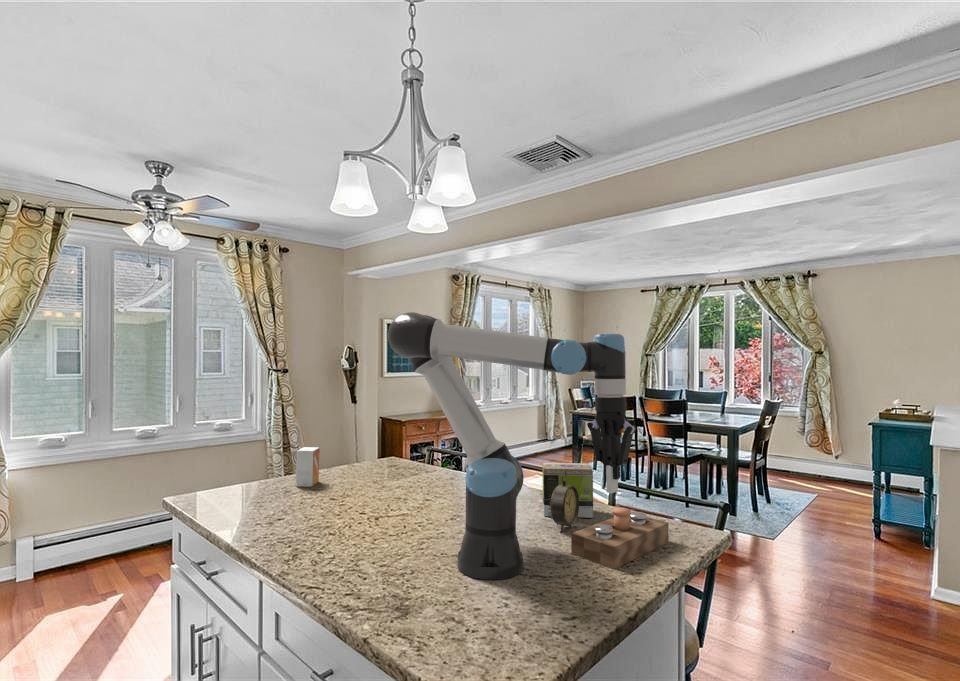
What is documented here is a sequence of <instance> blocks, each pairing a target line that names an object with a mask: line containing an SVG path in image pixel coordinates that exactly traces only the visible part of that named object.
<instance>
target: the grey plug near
mask: <svg viewBox="0 0 960 681" xmlns="http://www.w3.org/2000/svg"><path fill="white" fill-rule="evenodd" d="M595 532H596V537H599V538H603V539H606V540H608V539H610V538H612V533H613V528H612V527H610V526H607V525H597V526H595Z"/></svg>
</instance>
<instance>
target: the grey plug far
mask: <svg viewBox="0 0 960 681" xmlns="http://www.w3.org/2000/svg"><path fill="white" fill-rule="evenodd" d="M629 517H630V522H631V523H635V524H639V525H643V524H645V520H646V519H647V517H648V515H647V514H646V513H643V512H640V511H639V512H638V511H632V512H631V514H630V515H629Z"/></svg>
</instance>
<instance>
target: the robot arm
mask: <svg viewBox="0 0 960 681" xmlns="http://www.w3.org/2000/svg"><path fill="white" fill-rule="evenodd" d="M387 339H388V344H389V346H390V347H391V350H393V351H394V353H395V354H397V355H398V356H400V357H402V358H405V359H408V361H409V363H410V365H411V367H412V368H413V371H414V372H415V373H417V374H419V375H422V376H423V377H424V379H425V380H426V382H427V384H428V386H429V387H430V390H431V392H432V393H433V395H434V397H435V398H436V401H437V403H438V405H439V406H440V408H441V411H442V412H443V414H444V415H445V417H446V419H447V421H448V423H449V424H450V427H451V429H452V430H453V433H454V434H455V436H456V438H457V440H458V442H459V444H460V445H461V447H462V449H463V451H464V452H465V455H466V461H465V465H464V466H465V467H466V474H465V477H464V480H465V526H464V527H465V530H464V535H463V538H462V542H461V546H460V549H459V550H458V553H457V558H456V559H457V560H456V561H457V564H456V566H457V569H458V570H459V571H460V573H462V574H464V575H466V576H468V577H471V578H476V579H480V580H491V581H492V580H505V579H508V578H512V577H515V576H516V575H519V574H520V573H522V571H523V569H524V555H523V553H522V551H521V548H520V546H521V545H520V542H519V539H518V536H517V531H516V530H517V529H516V528H517V500H518V499H517V498H518V496H519V494H520V492H521V491H522V490H521V489H522V488H523V484H524V471H523V467H522V465H521V464H520V462H519V461H518V459H517V458H516V457H515V456H514V455H512V454H511V451H510V450H509V447H507V445H506V443H505V442H504V441H501V440H498V439H497V438H496V437H495V435H494V433H493V431H492V430H491V427H490V426H489V424H488V422H487V420H486V419H485V417H484V415H483V414H482V412H481V409H480V408H479V405H478V404H477V403H476V400H475V399H474V397H473V395H472V393H471V392H470V389H469V388H468V385H467V384H466V382H465V380H464V378H463V377H462V375H461V373H460V371H459V369H458V368H457V366H456V365H455V362H454V360H453V358H456V359H463V360H470V361H478V362H483V363H484V362H485V363H491V364H497V365H498V364H499V365H506V366H512V367H521V368H526V369H534V370H541V371H547V372H548V373H549V372H550V373H559V374H563V375H569V376H571V375H575V374H577V373H592V372H594V394H595V395H596V396H595V398H594V407H595V408H594V410H595V411H596V414H595V416H594V419H593V420H592V421H589V422H588V421H587V424H586V426H587V428H588V430H589V431H590V436H591V440H592V445H593V449H594V454H595V459H596V461H598V462H601V463H602V465H603V477H604V478H605V479H606V482H605V484H606V487H605V488H606V493H609V494H614V493H618V491H619V479H621V466H622V465H625V464H628V461H629V457H630V451H631V447H632V446H631V445H632V441H633V436H634V434H635V432H636V430H637V426H636V425H632V424H631V423H630V422H628V418H627V415H626V412H627V398H626V397H625V395H626V394H627V385H626V384H627V382H626V372H627V370H626V345H625V337H624V336H623V335H622V334H621V333H599V334H598V333H597V334H595V335H594V336H593V341H589V342H577V341H575V340H572V339H557V338H551V337H549V338H548V337H543V336H535V335H530V334H522V333H514V332H506V331H499V330H493V329H492V330H491V329H483V328H476V327H470V326H469V327H468V326H463V325H455V324H448V323H447V324H445V323H444V322H443V320H442V319H440V318H435V317H433V316H430V315H428V314H421V313H419V312H409V311H408V312H405V313H401V314H400V315H398V316H397V317H395V318H394V319H393V320H392V322H391V323H390V325H389V327H388V331H387ZM622 431H623V432H622ZM622 433H623V434H622Z"/></svg>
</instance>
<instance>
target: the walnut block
mask: <svg viewBox="0 0 960 681" xmlns="http://www.w3.org/2000/svg"><path fill="white" fill-rule="evenodd" d="M597 525H607V526H610V527H612V528H613V533H612V538H610V539H608V540H606V539H603V538H599V537H596V532H595V526H597ZM570 534H571V540H570V543H571V546H570V549H571V551H570V552H571V553H570V554H571V555H573V556H576V557H579V558H582V559H585V560H588V561H589V562H593V563H596V564H598V565H600V566H601V565H602V566H603V567H604V566H605V567H607V568H610V569H613V570H616V569H618V568H619V567H621V566H623V565H625V564H628V563H629V562H631V561H634V560H636V559H637V558H640V557H641V556H643V555H645V554H648V553H649V552H652V551H653V550H655V549H657V548H659V547H661V546H663V545H665V544H667V543H669V522H667V521H664V520H660V519H655V518H652V517H649V516H647V519H646V520H645V524H643V525H639V524H635V523H631V522H630V517H629V531H627V532H622V531H619V530H615V529H614V517H611V518H608V519H605V520H604V521H600V522H598V523H596V524H593V525H589V526H587V527H584V528H582V529H579V530H577V531H576V530H575V531H574V532H571V533H570Z"/></svg>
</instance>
